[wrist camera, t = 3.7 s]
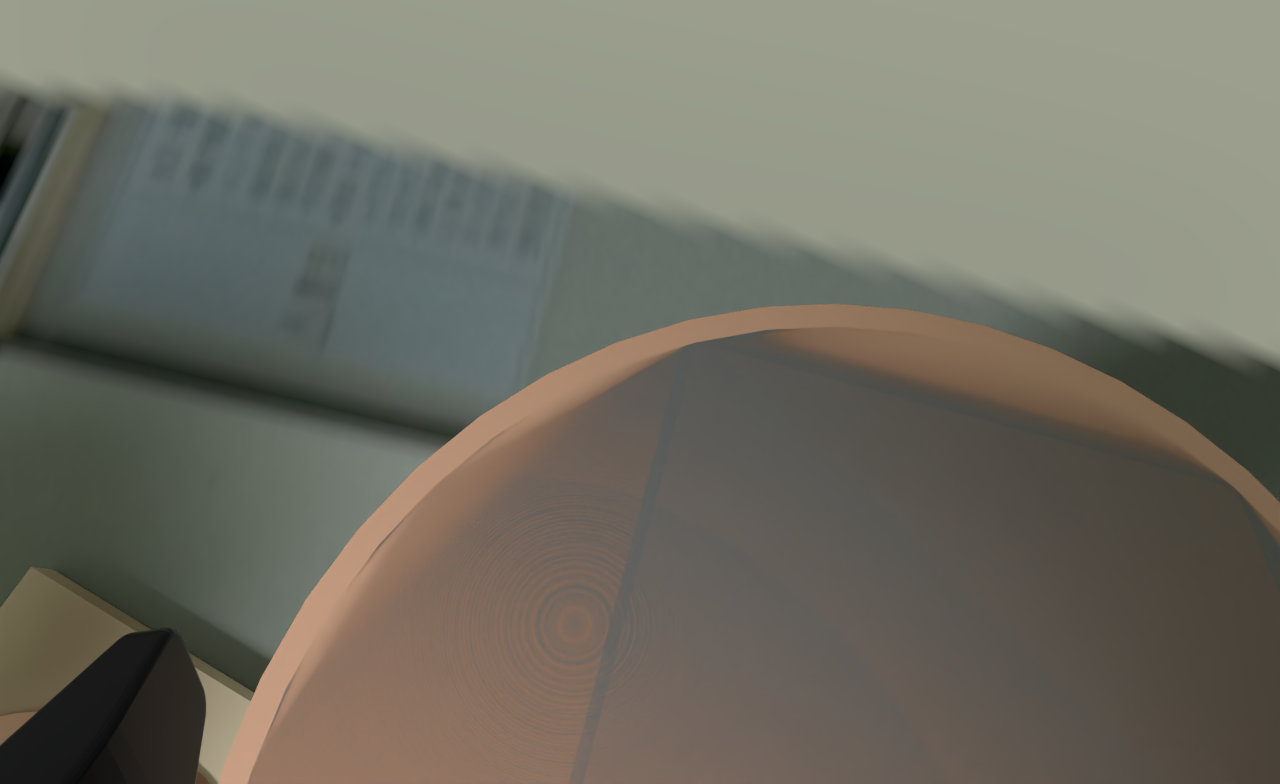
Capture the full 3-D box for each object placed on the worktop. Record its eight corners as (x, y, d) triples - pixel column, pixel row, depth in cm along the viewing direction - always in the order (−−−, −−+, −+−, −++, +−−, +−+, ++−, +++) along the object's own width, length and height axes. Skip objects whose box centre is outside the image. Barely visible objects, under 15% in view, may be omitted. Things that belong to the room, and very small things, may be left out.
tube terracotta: (834, 636, 15) (1652, 671, 4) (697, 914, 14) (1278, 2277, 2) (588, 493, 16) (626, 111, 4) (434, 754, 14) (-149, 1294, 3)
